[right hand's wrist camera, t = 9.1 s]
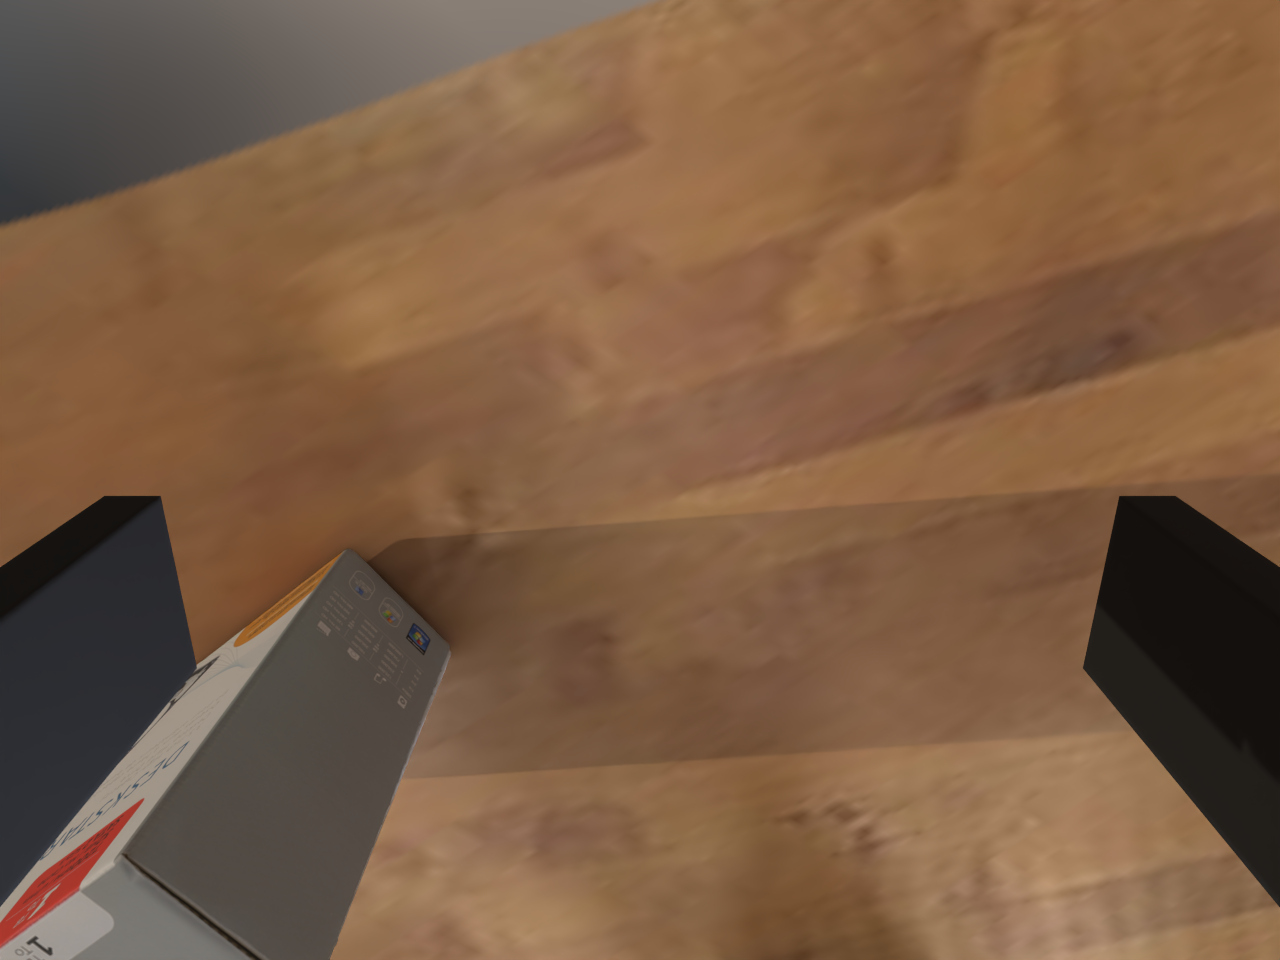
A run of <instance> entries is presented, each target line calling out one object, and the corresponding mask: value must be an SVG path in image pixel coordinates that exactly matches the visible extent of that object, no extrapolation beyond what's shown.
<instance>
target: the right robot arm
mask: <svg viewBox="0 0 1280 960" xmlns="http://www.w3.org/2000/svg"><path fill="white" fill-rule="evenodd" d="M196 669H197V666H196V661H195V656H194V652H193V647H192V642H191V638H190V633H189V628H188V623H187V619H186V614H185V609H184V605H183V600H182V595H181V590H180V586H179V581H178V576H177V571H176V567H175V562H174V557H173V553H172V548H171V543H170V538H169V534H168V529H167V524H166V520H165V515H164V510H163V505H162V501H161V496H104V497H102V498H101V499H100V500H98V501H97V502H95V503H94V504H92V505H91V506H89V507H88V508H86V509H85V510H83V511H82V512H81V513H79V514H78V515H76V516H75V517H73V518H72V519H70V520H69V521H67V522H66V523H64V524H63V525H62V526H60V527H59V528H57V529H56V530H54V531H53V532H51V533H50V534H48V535H47V536H45V537H44V538H43V539H41V540H40V541H38V542H37V543H35V544H34V545H32V546H31V547H29V548H28V549H26V550H25V551H24V552H22V553H21V554H19V555H18V556H16V557H15V558H13V559H12V560H10V561H9V562H7V563H6V564H5V565H3V566H2V567H0V907H1V906H2V904H3V903H4V902H5V901H6V900H7V898H8V897H9V896H10V895H11V894H12V892H13V891H14V890H15V889H16V887H17V886H18V885H19V884H20V883H21V881H22V880H23V879H24V878H25V876H26V875H27V874H28V873H29V872H30V870H31V869H32V868H33V867H34V866H35V864H36V863H37V862H38V861H39V859H40V858H41V857H42V856H43V855H44V853H45V852H46V851H47V850H48V849H49V847H50V846H51V845H52V844H53V842H54V841H55V840H56V839H57V838H58V836H59V835H60V834H61V833H62V832H63V830H64V829H65V828H66V827H67V825H68V824H69V823H70V822H71V821H72V819H73V818H74V817H75V816H76V815H77V813H78V812H79V811H80V810H81V808H82V807H83V806H84V805H85V804H86V802H87V801H88V800H89V799H90V798H91V796H92V795H93V794H94V793H95V791H96V790H97V789H98V788H99V787H100V785H101V784H102V783H103V782H104V781H105V779H106V778H107V777H108V776H109V774H110V773H111V772H112V771H113V770H114V768H115V767H116V766H117V765H118V763H119V762H120V761H121V760H122V759H123V757H124V756H125V755H126V754H127V753H128V751H129V750H130V749H131V748H132V746H133V745H134V744H135V743H136V742H137V740H138V739H139V738H140V737H141V736H142V734H143V733H144V732H145V731H146V729H147V728H148V727H149V726H150V725H151V723H152V722H153V721H154V720H155V719H156V717H157V716H158V715H159V714H160V712H161V711H162V710H163V709H164V708H165V706H166V705H167V704H168V703H169V702H170V700H171V699H172V698H173V697H174V695H175V694H176V693H177V692H178V691H179V689H180V688H181V687H182V686H183V685H184V683H185V682H186V681H187V680H188V678H189V677H190V676H191V675H192V674H193V672H194V671H195V670H196ZM1083 669H1084V670H1085V671H1086V672H1087V674H1088V675H1089V676H1090V677H1091V678H1092V680H1093V681H1094V682H1095V683H1096V685H1097V686H1098V687H1099V688H1100V689H1101V691H1102V692H1103V693H1104V694H1105V695H1106V697H1107V698H1108V699H1109V700H1110V702H1111V703H1112V704H1113V705H1114V706H1115V708H1116V709H1117V710H1118V711H1119V712H1120V714H1121V715H1122V716H1123V717H1124V719H1125V720H1126V721H1127V722H1128V723H1129V725H1130V726H1131V727H1132V728H1133V729H1134V731H1135V732H1136V733H1137V734H1138V736H1139V737H1140V738H1141V739H1142V740H1143V742H1144V743H1145V744H1146V745H1147V746H1148V748H1149V749H1150V750H1151V751H1152V753H1153V754H1154V755H1155V756H1156V757H1157V759H1158V760H1159V761H1160V762H1161V763H1162V765H1163V766H1164V767H1165V768H1166V770H1167V771H1168V772H1169V773H1170V774H1171V776H1172V777H1173V778H1174V779H1175V781H1176V782H1177V783H1178V784H1179V785H1180V787H1181V788H1182V789H1183V790H1184V791H1185V793H1186V794H1187V795H1188V796H1189V798H1190V799H1191V800H1192V801H1193V802H1194V804H1195V805H1196V806H1197V807H1198V808H1199V810H1200V811H1201V812H1202V813H1203V815H1204V816H1205V817H1206V818H1207V819H1208V821H1209V822H1210V823H1211V824H1212V825H1213V827H1214V828H1215V829H1216V830H1217V832H1218V833H1219V834H1220V835H1221V836H1222V838H1223V839H1224V840H1225V841H1226V842H1227V844H1228V845H1229V846H1230V847H1231V849H1232V850H1233V851H1234V852H1235V853H1236V855H1237V856H1238V857H1239V858H1240V859H1241V861H1242V862H1243V863H1244V864H1245V866H1246V867H1247V868H1248V869H1249V870H1250V872H1251V873H1252V874H1253V875H1254V876H1255V878H1256V879H1257V880H1258V881H1259V883H1260V884H1261V885H1262V886H1263V887H1264V889H1265V890H1266V891H1267V892H1268V894H1269V895H1270V896H1271V897H1272V898H1273V900H1274V901H1275V902H1276V903H1277V904H1278V906H1279V907H1280V567H1278V566H1277V565H1275V564H1274V563H1273V562H1271V561H1270V560H1268V559H1267V558H1265V557H1264V556H1262V555H1261V554H1259V553H1258V552H1256V551H1255V550H1254V549H1252V548H1251V547H1249V546H1248V545H1246V544H1245V543H1243V542H1242V541H1240V540H1239V539H1237V538H1236V537H1235V536H1233V535H1232V534H1230V533H1229V532H1227V531H1226V530H1224V529H1223V528H1221V527H1220V526H1218V525H1217V524H1216V523H1214V522H1213V521H1211V520H1210V519H1208V518H1207V517H1205V516H1204V515H1202V514H1201V513H1199V512H1198V511H1197V510H1195V509H1194V508H1192V507H1191V506H1189V505H1188V504H1186V503H1185V502H1183V501H1182V500H1180V499H1179V498H1178V497H1176V496H1119V501H1118V505H1117V510H1116V515H1115V520H1114V524H1113V529H1112V534H1111V538H1110V543H1109V548H1108V553H1107V557H1106V562H1105V567H1104V571H1103V576H1102V581H1101V586H1100V590H1099V595H1098V600H1097V604H1096V609H1095V614H1094V619H1093V623H1092V628H1091V633H1090V638H1089V642H1088V647H1087V652H1086V656H1085V661H1084V666H1083Z"/></svg>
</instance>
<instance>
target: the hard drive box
mask: <svg viewBox="0 0 1280 960" xmlns="http://www.w3.org/2000/svg"><path fill="white" fill-rule="evenodd" d="M449 649H450V646H449V644H448V643H447V642H446V641H445V640H444V639H443V638H442V637H441V636H440V635H439V634H438V633H437V632H436V631H435V630H434V629H433V628H432V627H431V626H430V625H429V624H428V623H427V622H426V621H425V620H424V619H423V618H422V617H421V616H420V615H419V614H418V613H417V612H416V611H415V610H414V609H413V608H412V607H411V606H410V605H409V604H407V603H406V602H405V601H404V600H403V599H402V598H401V597H400V596H399V595H398V594H397V593H396V592H395V591H394V590H393V589H392V588H391V587H390V586H389V585H388V584H387V583H386V582H385V581H384V580H383V579H382V578H381V577H380V576H379V575H378V574H377V573H376V572H375V571H374V570H373V569H372V568H371V567H370V566H369V565H368V564H367V563H366V562H365V561H364V560H363V559H362V558H361V557H360V556H359V555H358V554H357V553H356V552H354V551H353V550H352V549H346V550H344V551H343V552H342V553H340V554H339V555H338V556H336V557H335V558H334V559H332V560H331V561H330V562H328V563H327V564H326V565H325V566H323V567H322V568H321V569H319V570H318V571H317V572H316V573H315V574H313V575H312V576H311V577H309V578H308V579H307V580H305V581H304V582H303V583H301V584H300V585H299V586H298V587H296V588H295V589H294V590H292V591H291V592H290V593H289V594H287V595H286V596H285V597H284V598H282V599H281V600H280V601H278V602H277V603H276V604H275V605H274V606H272V607H271V608H270V609H268V610H267V611H266V612H264V613H263V614H262V615H260V616H259V617H258V618H257V619H255V620H254V621H253V622H252V623H250V624H249V625H248V626H247V627H245V628H244V629H243V630H241V631H240V632H239V633H238V634H236V635H235V636H234V637H232V638H231V639H230V640H229V641H227V642H226V643H225V644H224V645H222V646H221V647H220V648H218V649H217V650H216V651H214V652H213V653H212V654H210V655H209V656H208V657H207V658H205V659H204V660H203V661H201V662H200V663H198V664H197V665H196V666H197V669H196V670H195V671H194V672H193V674H192V675H191V676H190V677H189V678H188V680H187V681H186V682H185V683H184V685H183V686H182V687H181V688H180V689H179V691H178V692H177V693H176V694H175V695H174V697H173V698H172V699H171V700H170V702H169V703H168V704H167V705H166V706H165V708H164V709H163V710H162V711H161V712H160V714H159V715H158V716H157V717H156V719H155V720H154V721H153V722H152V723H151V725H150V726H149V727H148V728H147V729H146V731H145V732H144V733H143V734H142V736H141V737H140V738H139V739H138V740H137V742H136V743H135V744H134V745H133V746H132V748H131V749H130V750H129V751H128V753H127V754H126V755H125V756H124V757H123V759H122V760H121V761H120V762H119V763H118V765H117V766H116V767H115V768H114V770H113V771H112V772H111V773H110V774H109V776H108V777H107V778H106V779H105V781H104V782H103V783H102V784H101V785H100V787H99V788H98V789H97V790H96V791H95V793H94V794H93V795H92V796H91V798H90V799H89V800H88V801H87V802H86V804H85V805H84V806H83V807H82V808H81V810H80V811H79V812H78V813H77V815H76V816H75V817H74V818H73V819H72V821H71V822H70V823H69V824H68V825H67V827H66V828H65V829H64V830H63V832H62V833H61V834H60V835H59V836H58V838H57V839H56V840H55V841H54V842H53V844H52V845H51V846H50V847H49V849H48V850H47V851H46V852H45V853H44V855H43V856H42V857H41V858H40V859H39V861H38V862H37V863H36V864H35V866H34V867H33V868H32V869H31V870H30V872H29V873H28V874H27V875H26V876H25V878H24V879H23V880H22V881H21V883H20V884H19V885H18V886H17V887H16V889H15V890H14V891H13V892H12V894H11V895H10V896H9V897H8V898H7V900H6V901H5V902H4V903H3V904H2V906H1V907H0V960H329V959H330V957H331V954H332V952H333V949H334V947H335V946H336V944H337V941H338V937H339V934H340V932H341V929H342V927H343V924H344V922H345V919H346V916H347V914H348V911H349V909H350V906H351V904H352V901H353V899H354V896H355V894H356V891H357V888H358V886H359V883H360V881H361V878H362V876H363V873H364V871H365V868H366V866H367V863H368V861H369V858H370V856H371V853H372V851H373V848H374V846H375V843H376V841H377V838H378V836H379V833H380V830H381V828H382V826H383V823H384V821H385V818H386V816H387V813H388V811H389V808H390V806H391V803H392V801H393V799H394V796H395V794H396V791H397V789H398V786H399V783H400V781H401V778H402V776H403V773H404V771H405V768H406V766H407V763H408V761H409V758H410V756H411V753H412V751H413V748H414V746H415V743H416V741H417V738H418V736H419V733H420V731H421V729H422V726H423V724H424V721H425V719H426V716H427V714H428V711H429V709H430V706H431V704H432V701H433V699H434V696H435V694H436V691H437V689H438V686H439V684H440V681H441V679H442V676H443V674H444V671H445V669H446V666H447V663H448V661H449V658H450V655H451V651H450V650H449Z"/></svg>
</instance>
